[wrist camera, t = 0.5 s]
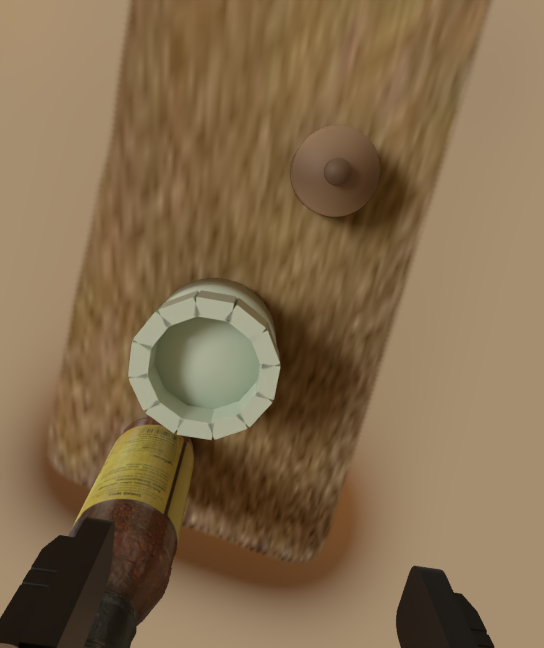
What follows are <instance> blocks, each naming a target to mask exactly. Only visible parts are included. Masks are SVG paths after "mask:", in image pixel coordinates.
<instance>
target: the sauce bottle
mask: <svg viewBox="0 0 544 648" xmlns="http://www.w3.org/2000/svg"><path fill="white" fill-rule="evenodd" d="M177 430H178V429H177ZM177 430H176V431H175V433H172V432H171V431H170V430H168V429H167V428H166V427H164V426H163V425H161V424H160V423H159V422H157V421H156V420H155V419H153V418H152V417H146V418H143V419H139V420H138V421H136V422H134V423H132V424H131V425H129V426H128V427H127V428H126V429H125V430H124V432H123V434H122V435H121V436H120V437H119V438H118V440H117V441H116V443H115V444H114V446H113V448H112V450H111V452H110V454H109V456H108V458H107V460H106V462H105V464H104V466H103V468H102V470H101V472H100V474H99V476H98V478H97V480H96V482H95V484H94V485H93V487H92V489H91V491H90V493H89V495H88V497H87V499H86V501H85V503H84V505H83V507H82V509H81V511H80V513H79V515H78V517H77V519H76V521H75V523H74V525H73V527H72V529H71V531H70V534H69V537H75V536H76V534H77V532H78V530H79V528H80V526H81V524H82V523H83V521H84V519H85V518H86V517H91V518H98V519H105V520H112V521H115V534H114V543H113V552H112V561H111V569H110V575H109V579H108V583H107V587H106V590H105V593H104V596H103V598H102V601H101V603H100V606H99V608H98V611H97V614H96V616H95V619H94V621H93V624H92V626H91V629H90V632H89V634H88V637H87V639H86V642H85V644H84V647H83V648H130V645H131V642H132V640H133V638H134V636H135V634H136V626H137V625H139V624H140V623H141V622H142V621H143V620H144V619H145V617H146V616H147V615H148V614H149V613H150V611H151V610H152V609H153V608H154V606H155V605H156V604H157V603H158V602H159V600H160V599H161V598H162V597H163V595H164V593H165V590H166V588H167V585H168V582H169V577H170V574H171V569H172V568H171V566H172V562H173V558H174V556H175V553H176V550H177V546H178V541H179V536H180V531H181V526H182V521H183V516H184V511H185V506H186V501H187V496H188V492H189V487H190V482H191V476H192V471H193V466H194V457H195V455H194V450H193V444H192V442H191V439H190V437H189V436H182V435H177Z"/></svg>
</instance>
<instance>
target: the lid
mask: <svg viewBox="0 0 544 648" xmlns="http://www.w3.org/2000/svg"><path fill="white" fill-rule="evenodd" d="M290 173H291V183H292V187H293V190H294V192H295V194H296V196H297V198H298V199H299V200H300V201H301V203H302V204H303V205H305V206H306V207H307V208H309V209H310V210H312V211H314V212H317V213H319V214H322V215H325V216H331V217H339V216H345V215H348V214H351V213H353V212H355V211H357V210H359V209H360V208H361V207H363V206H364V205H365V204H366V203H367V202H368V201H369V200H370V198H371V197H372V196H373V194H374V192H375V190H376V188H377V185H378V182H379V177H380V161H379V157H378V154H377V151H376V149H375V147H374V145H373V144H372V142H371V141H370V140H369V139H368V138H367V136H365V135H364V134H363V133H362V132H360V131H358V130H357V129H354V128H352V127H349V126H344V125H332V126H327V127H324V128H322V129H319V130H317V131H316V132H314V133H313V134H311V135H310V136H309V137H308V138H307V139H306V140H305V141H304V142H303V143H302V145H301V146H300V147H299V149H298V150H297V152H296V154H295V155H294V158H293V161H292V165H291V171H290Z"/></svg>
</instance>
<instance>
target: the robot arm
mask: <svg viewBox="0 0 544 648" xmlns="http://www.w3.org/2000/svg"><path fill="white" fill-rule="evenodd" d="M114 534H115V521H112V520H105V519H98V518H91V517H86V518H85V519H84V521H83V523H82V524H81V526H80V528H79V530H78V532H77V534H76V536H75V537H69V536H62V535H59V536H58V537H57V538H55V539H54V540H53V541H52V542H50V543H49V544H48V545H47V546H45V547H44V548H43V549H42V550H41V552H40V553H39V555H38V557H37V559H36V560H35V562H34V563H33V565H32V567H31V570H29V572H28V573H27V575H26V577H25V578H24V580H23V583H22V585H20V586H19V588H18V590H17V592H16V593H15V595H14V596H13V598H12V600H11V602H10V603H9V605H8V606H7V608H6V610H5V611H4V613H3V615H2V616H1V618H0V648H83V647H84V644H85V642H86V639H87V637H88V634H89V632H90V629H91V626H92V624H93V621H94V619H95V616H96V614H97V611H98V608H99V606H100V603H101V601H102V598H103V596H104V593H105V590H106V587H107V583H108V579H109V575H110V569H111V561H112V552H113V543H114ZM396 628H397V635H398V639H399V642H400V646H401V648H494V645H493V643H492V641H491V639H490V637H489V635H487V630H486V628H485V626H484V624H483V622H482V620H481V618H480V616H479V614H478V612H477V611H476V610H475V608H474V607H473V606H472V605H471V604H470V603H469V602H468V601H467V599H466V598H465V597H464V596H463V595H462V594H459V593H454V592H453V590H452V588H451V586H450V583H449V581H448V579H447V577H446V575H445V573H444V572H443V571H442V570H440V569H433V568H426V567H419V566H413V567H412V568H411V570H410V573H409V576H408V579H407V582H406V585H405V588H404V591H403V594H402V597H401V600H400V603H399V606H398V609H397V615H396Z"/></svg>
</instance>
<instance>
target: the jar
mask: <svg viewBox="0 0 544 648" xmlns="http://www.w3.org/2000/svg"><path fill="white" fill-rule="evenodd" d="M279 372H280V356H279V351H278V348H277V344H276V332H275V326H274V322H273V319H272V316H271V314H270V312H269V310H268V308H267V307H266V305H265V304H264V302H263V301H262V300H261V299H260V298H259V297H258V296H257V295H256V294H255V293H254V292H253V291H251V290H250V289H248V288H247V287H245V286H243V285H241V284H239V283H237V282H234V281H231V280H226V279H219V278H208V279H201V280H197V281H194V282H191V283H189V284H187V285H185V286H183V287H181V288H180V289H178V290H177V291H176V292H174V293H173V294H172V295H171V296H170V297H169V298H168V299H167V301H166V302H165V303H164V304H162V305H161V306H160V307H159V308H158V309H157V310H156V312H155V313H154V314H153V315H152V316H151V318H150V319H149V320H148V321H147V323H146V324H145V325H144V326H143V328H142V329H141V330H140V331H139V333H138V334H137V335H136V336H135V338H134V340H133V341H132V346H131V355H130V364H129V373H128V376H130V378H129V381H130V383H131V385H132V387H133V389H134V392H135V394H136V396H137V398H138V400H139V402H140V404H141V406H142V409H143V410H146V409H147V411H146V414H148V415H149V416H150V417H152V418H153V419H155V420H156V421H157V422H159V423H160V424H161V425H163V426H164V427H166V428H167V429H168V430H170V431H171V432H172V433H175V431H176V430H177V429H178V430H177V435H182V436H189V437H195V438H202V439H208V440H212V435H213V437H214V439H218V438H221V437H224V436H227V435H230V434H233V433H236V432H239V431H242V430H245V429H247V425H248V426H249V427H251V425H252V424H253V423H254V422H255V421H256V420H257V419H258V418H259V417H260V416H261V415H262V413H263V412H264V411H265V410H266V409H267V408H268V407H269V406H270V405H271V404H272V403H273V402H272V399H273V400H274V397H275V392H276V387H277V382H278V377H279Z"/></svg>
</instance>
